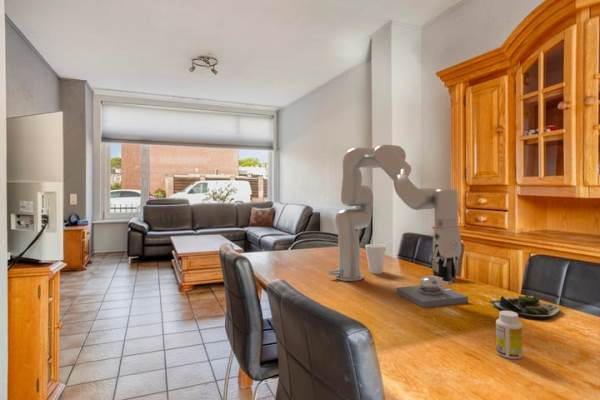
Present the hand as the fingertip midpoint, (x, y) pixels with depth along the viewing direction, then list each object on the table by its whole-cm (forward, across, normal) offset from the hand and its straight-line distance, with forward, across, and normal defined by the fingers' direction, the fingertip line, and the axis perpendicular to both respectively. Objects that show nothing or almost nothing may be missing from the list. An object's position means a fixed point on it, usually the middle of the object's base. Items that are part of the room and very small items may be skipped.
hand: (446, 275), depth 126 cm
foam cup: (+10, +11, +49) cm, 51 cm away
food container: (+10, +29, +24) cm, 39 cm away
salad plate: (+10, +15, -18) cm, 26 cm away
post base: (+10, +1, +8) cm, 13 cm away
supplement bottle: (+10, -20, -33) cm, 40 cm away
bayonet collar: (+7, 0, +5) cm, 8 cm away
